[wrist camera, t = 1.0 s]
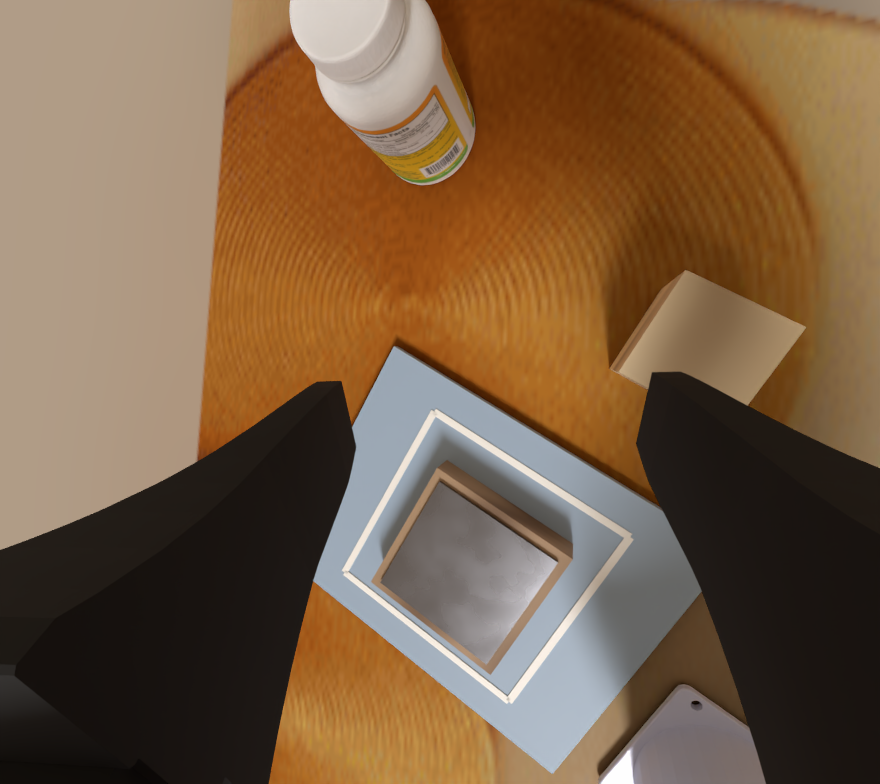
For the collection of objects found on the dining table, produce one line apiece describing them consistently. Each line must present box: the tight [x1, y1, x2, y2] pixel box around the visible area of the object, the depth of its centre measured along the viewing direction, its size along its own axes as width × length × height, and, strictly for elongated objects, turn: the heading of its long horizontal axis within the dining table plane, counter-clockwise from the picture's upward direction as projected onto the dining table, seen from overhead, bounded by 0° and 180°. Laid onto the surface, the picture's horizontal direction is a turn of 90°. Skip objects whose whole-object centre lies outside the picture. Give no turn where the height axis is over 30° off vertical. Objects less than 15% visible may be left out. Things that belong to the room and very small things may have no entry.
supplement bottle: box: [290, 0, 475, 185], centre depth 19 cm, size 5×5×10 cm
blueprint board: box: [313, 346, 701, 774], centre depth 24 cm, size 20×16×3 cm
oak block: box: [609, 270, 806, 406], centre depth 19 cm, size 4×4×5 cm
